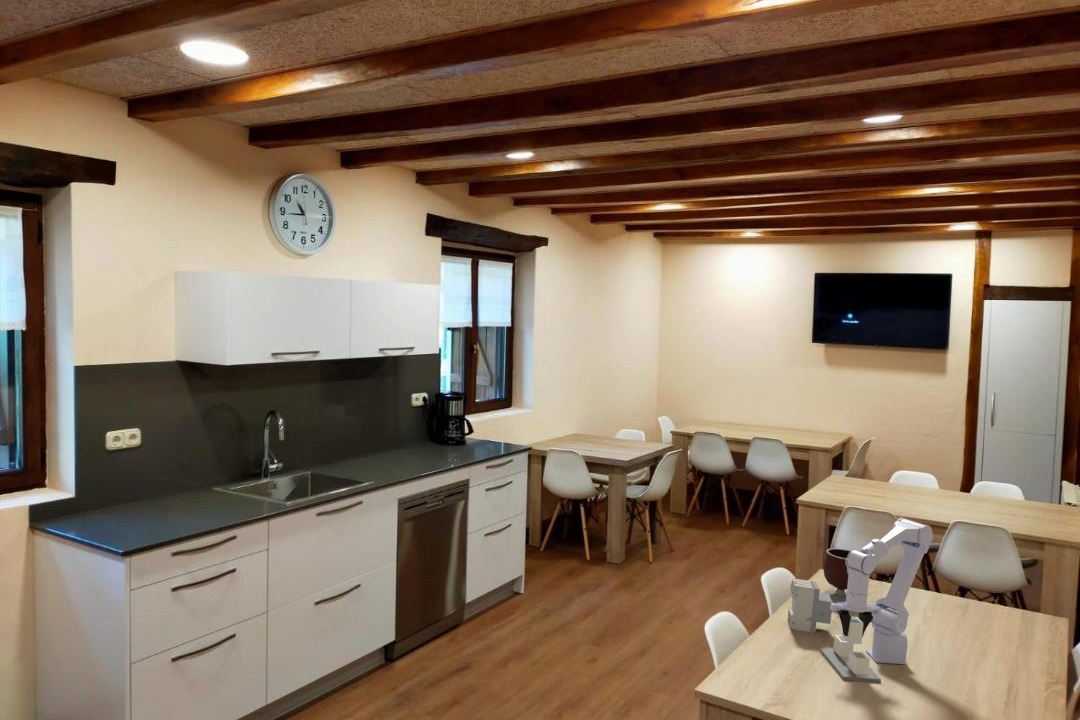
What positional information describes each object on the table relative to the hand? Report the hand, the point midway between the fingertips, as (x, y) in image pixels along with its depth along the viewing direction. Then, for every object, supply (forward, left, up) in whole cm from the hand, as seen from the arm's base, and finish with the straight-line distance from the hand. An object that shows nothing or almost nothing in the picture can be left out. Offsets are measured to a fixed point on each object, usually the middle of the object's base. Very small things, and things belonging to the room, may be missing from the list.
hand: (852, 635), depth 234 cm
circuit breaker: (+2, -28, -10) cm, 30 cm away
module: (0, 0, -2) cm, 2 cm away
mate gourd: (-21, -59, -10) cm, 63 cm away
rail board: (0, 0, -10) cm, 10 cm away
